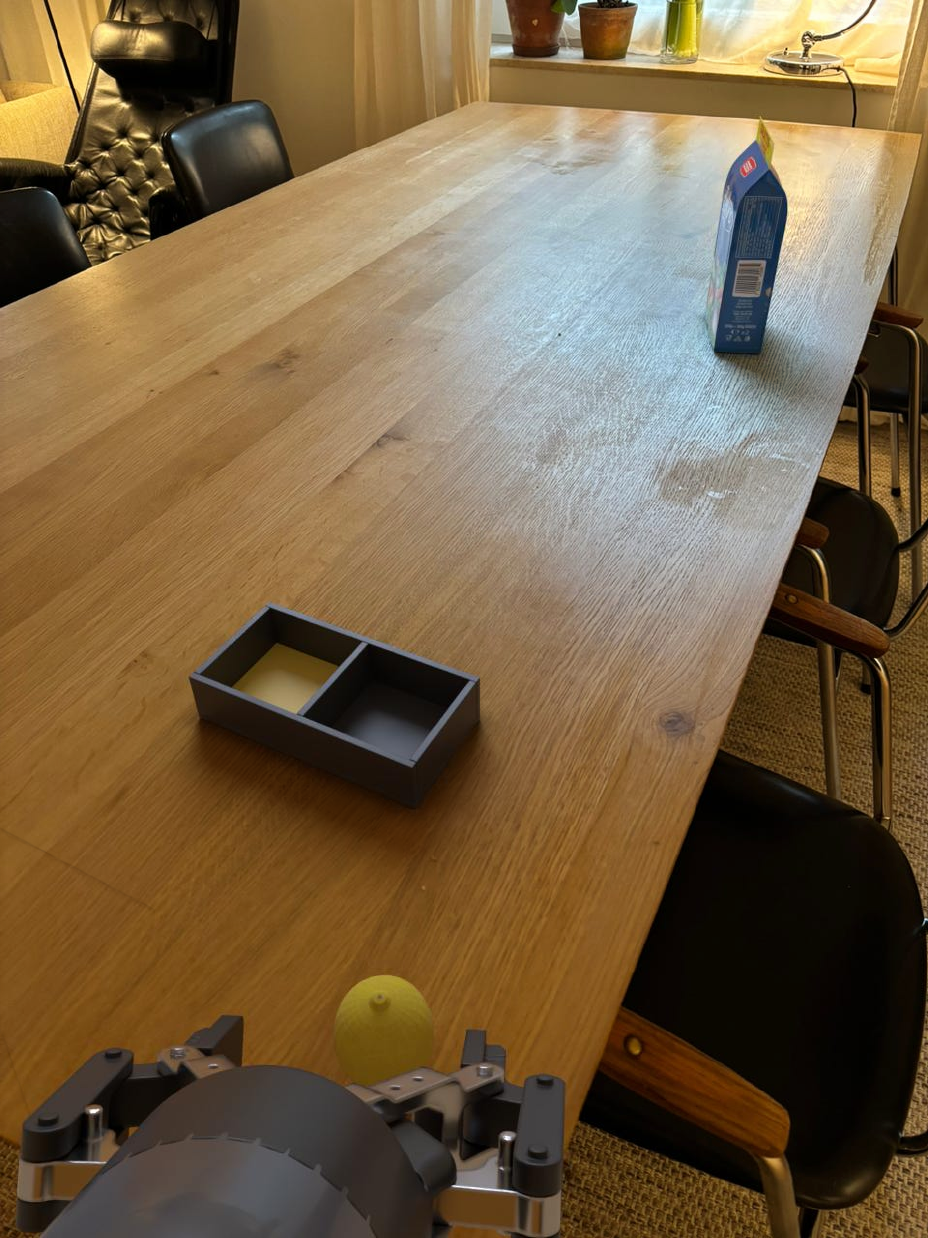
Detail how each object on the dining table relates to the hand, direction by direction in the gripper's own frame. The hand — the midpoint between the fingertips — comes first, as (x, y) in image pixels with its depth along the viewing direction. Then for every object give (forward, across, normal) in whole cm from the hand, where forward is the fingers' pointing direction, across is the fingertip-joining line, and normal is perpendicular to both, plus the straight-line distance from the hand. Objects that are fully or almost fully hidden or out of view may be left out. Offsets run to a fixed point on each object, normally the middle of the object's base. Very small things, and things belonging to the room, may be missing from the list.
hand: (352, 1051), depth 35 cm
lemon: (+23, +2, +9) cm, 25 cm away
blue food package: (+94, -32, -62) cm, 117 cm away
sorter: (+43, +9, -11) cm, 45 cm away
